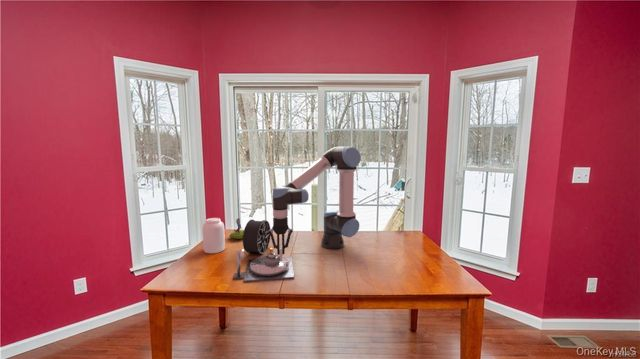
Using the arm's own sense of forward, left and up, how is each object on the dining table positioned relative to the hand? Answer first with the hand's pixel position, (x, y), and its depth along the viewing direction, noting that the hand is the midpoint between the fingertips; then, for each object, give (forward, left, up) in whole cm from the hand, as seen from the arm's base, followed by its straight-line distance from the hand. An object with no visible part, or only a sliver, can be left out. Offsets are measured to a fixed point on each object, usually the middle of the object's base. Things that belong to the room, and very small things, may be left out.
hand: (281, 260), depth 142 cm
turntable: (+6, 0, -3) cm, 7 cm away
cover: (+5, 0, -1) cm, 5 cm away
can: (+41, -32, -5) cm, 52 cm away
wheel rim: (+14, -25, -5) cm, 29 cm away
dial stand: (+21, +6, -5) cm, 22 cm away
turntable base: (+6, 0, -5) cm, 8 cm away
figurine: (+29, -52, -5) cm, 60 cm away
